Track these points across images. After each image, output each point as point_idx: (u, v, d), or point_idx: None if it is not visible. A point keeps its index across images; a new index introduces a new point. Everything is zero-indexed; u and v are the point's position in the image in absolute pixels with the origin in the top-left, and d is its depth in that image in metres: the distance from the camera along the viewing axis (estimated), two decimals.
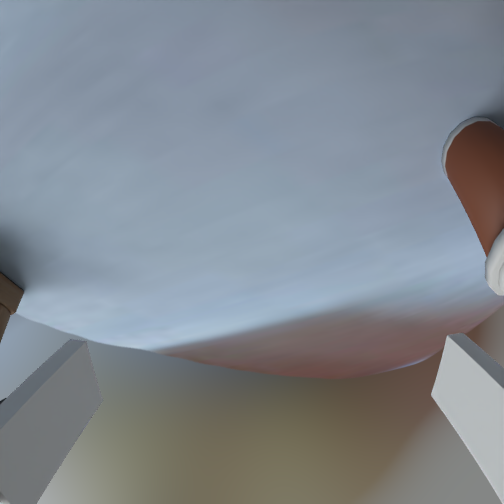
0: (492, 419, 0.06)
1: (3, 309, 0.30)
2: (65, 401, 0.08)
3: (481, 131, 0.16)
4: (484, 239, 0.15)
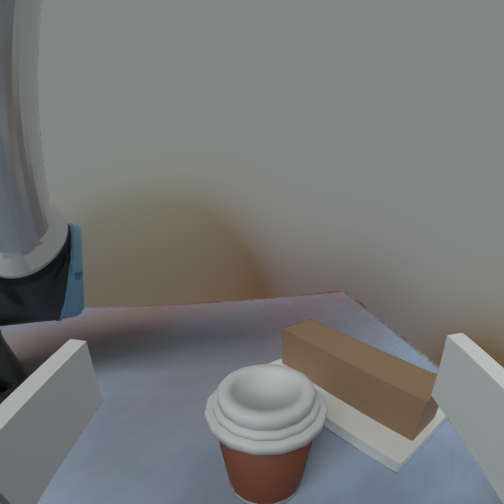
0: (492, 419, 0.06)
1: None
2: (65, 401, 0.08)
3: None
4: (238, 456, 0.19)
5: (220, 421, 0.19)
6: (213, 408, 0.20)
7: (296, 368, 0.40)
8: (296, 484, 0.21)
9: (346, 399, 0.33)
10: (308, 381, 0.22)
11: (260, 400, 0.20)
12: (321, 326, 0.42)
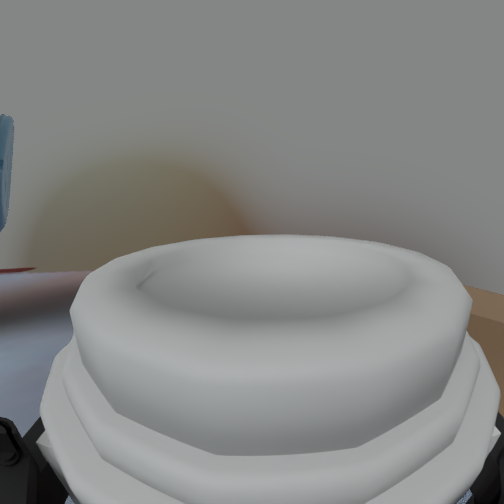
0: None
1: None
2: None
3: None
4: None
5: (64, 384, 0.04)
6: None
7: None
8: None
9: None
10: (411, 252, 0.06)
11: (247, 299, 0.05)
12: None
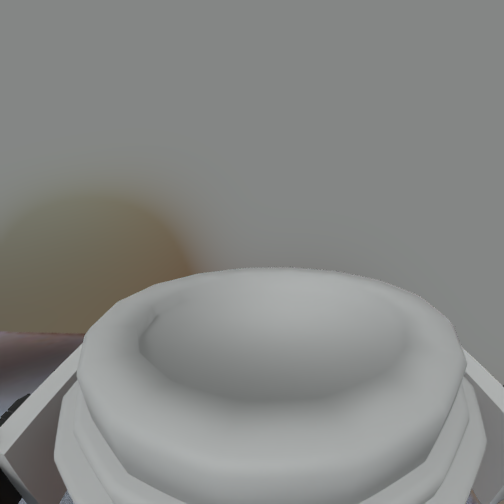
0: None
1: None
2: None
3: None
4: None
5: (76, 438, 0.04)
6: (79, 385, 0.05)
7: None
8: None
9: None
10: (412, 296, 0.06)
11: (248, 361, 0.05)
12: None
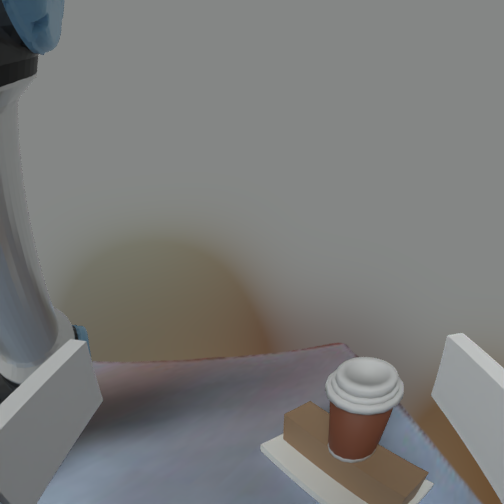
0: (492, 419, 0.06)
1: None
2: (65, 401, 0.08)
3: None
4: (352, 420, 0.29)
5: (344, 396, 0.29)
6: (335, 389, 0.30)
7: (296, 446, 0.40)
8: (378, 441, 0.31)
9: (339, 480, 0.32)
10: (391, 365, 0.32)
11: (366, 379, 0.30)
12: (320, 411, 0.41)
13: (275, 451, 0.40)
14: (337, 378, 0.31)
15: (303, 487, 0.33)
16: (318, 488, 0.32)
